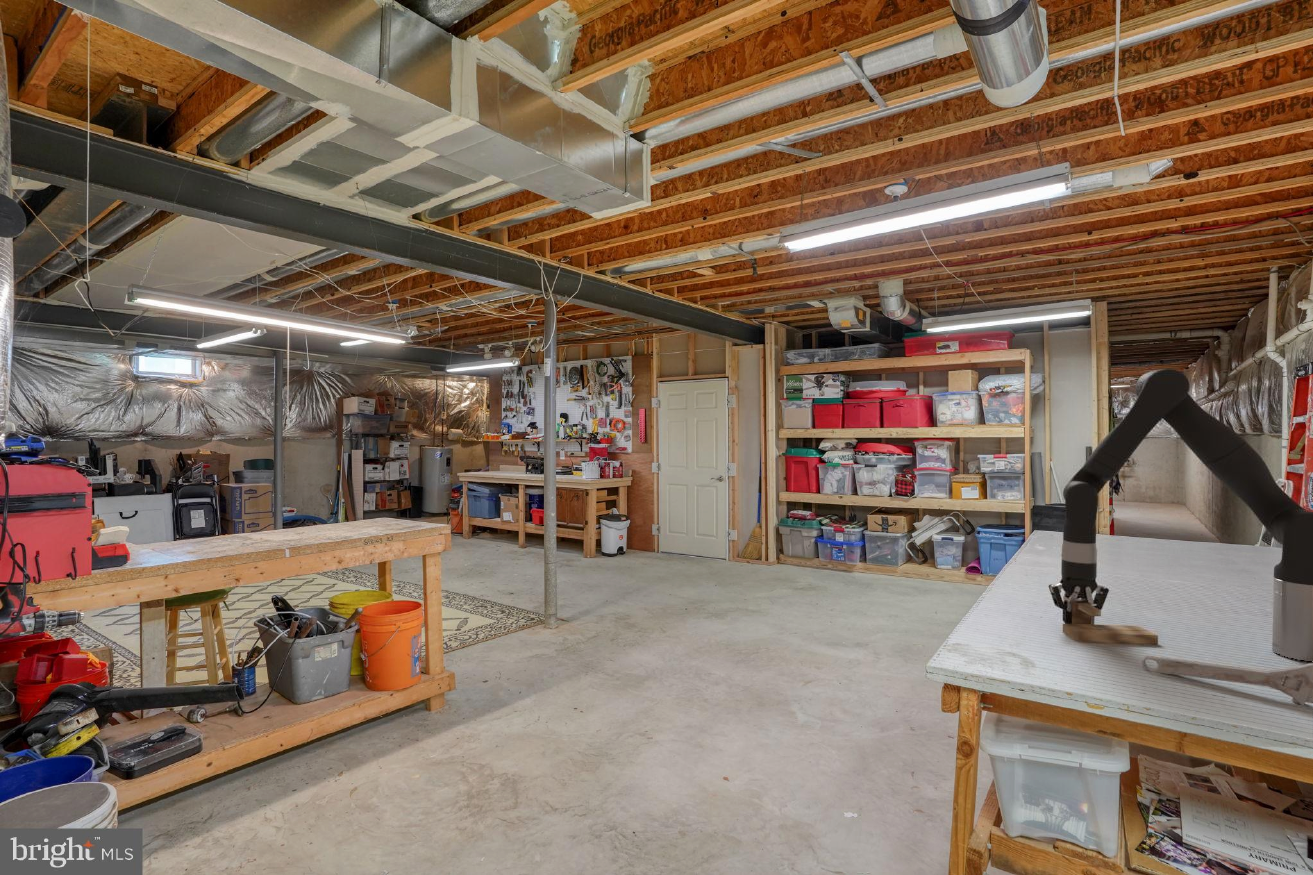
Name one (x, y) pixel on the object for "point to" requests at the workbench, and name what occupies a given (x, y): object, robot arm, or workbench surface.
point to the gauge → (1084, 612)
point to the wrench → (1244, 675)
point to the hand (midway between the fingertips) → (1077, 624)
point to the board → (1110, 633)
